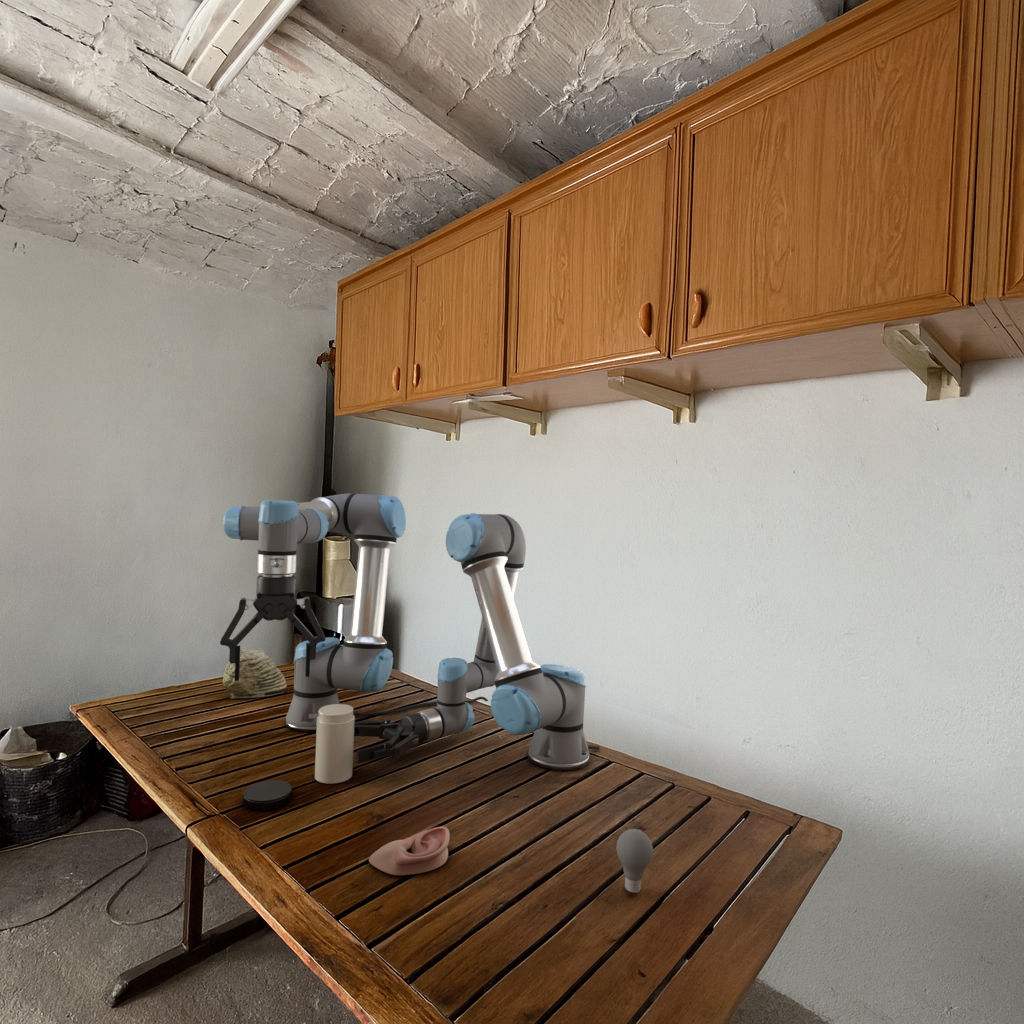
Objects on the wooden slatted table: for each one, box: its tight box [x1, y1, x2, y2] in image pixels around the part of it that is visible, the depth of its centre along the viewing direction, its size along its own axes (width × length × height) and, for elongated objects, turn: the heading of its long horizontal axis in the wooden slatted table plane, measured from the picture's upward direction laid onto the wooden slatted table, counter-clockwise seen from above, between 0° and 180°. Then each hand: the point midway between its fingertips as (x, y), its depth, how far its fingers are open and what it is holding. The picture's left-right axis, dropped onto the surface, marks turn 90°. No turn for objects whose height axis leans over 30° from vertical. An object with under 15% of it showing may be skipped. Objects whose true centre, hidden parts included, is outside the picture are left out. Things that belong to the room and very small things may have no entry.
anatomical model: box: [368, 826, 451, 876], centre depth 112 cm, size 13×4×12 cm
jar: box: [313, 703, 356, 785], centre depth 144 cm, size 8×8×15 cm
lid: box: [242, 779, 293, 812], centre depth 131 cm, size 9×9×2 cm
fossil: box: [222, 646, 288, 699], centre depth 198 cm, size 9×18×15 cm, turn 132°
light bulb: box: [615, 828, 654, 894], centre depth 106 cm, size 6×6×10 cm
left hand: (272, 677), depth 131 cm, fingers open, 13 cm apart
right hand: (342, 747), depth 145 cm, fingers open, 13 cm apart
